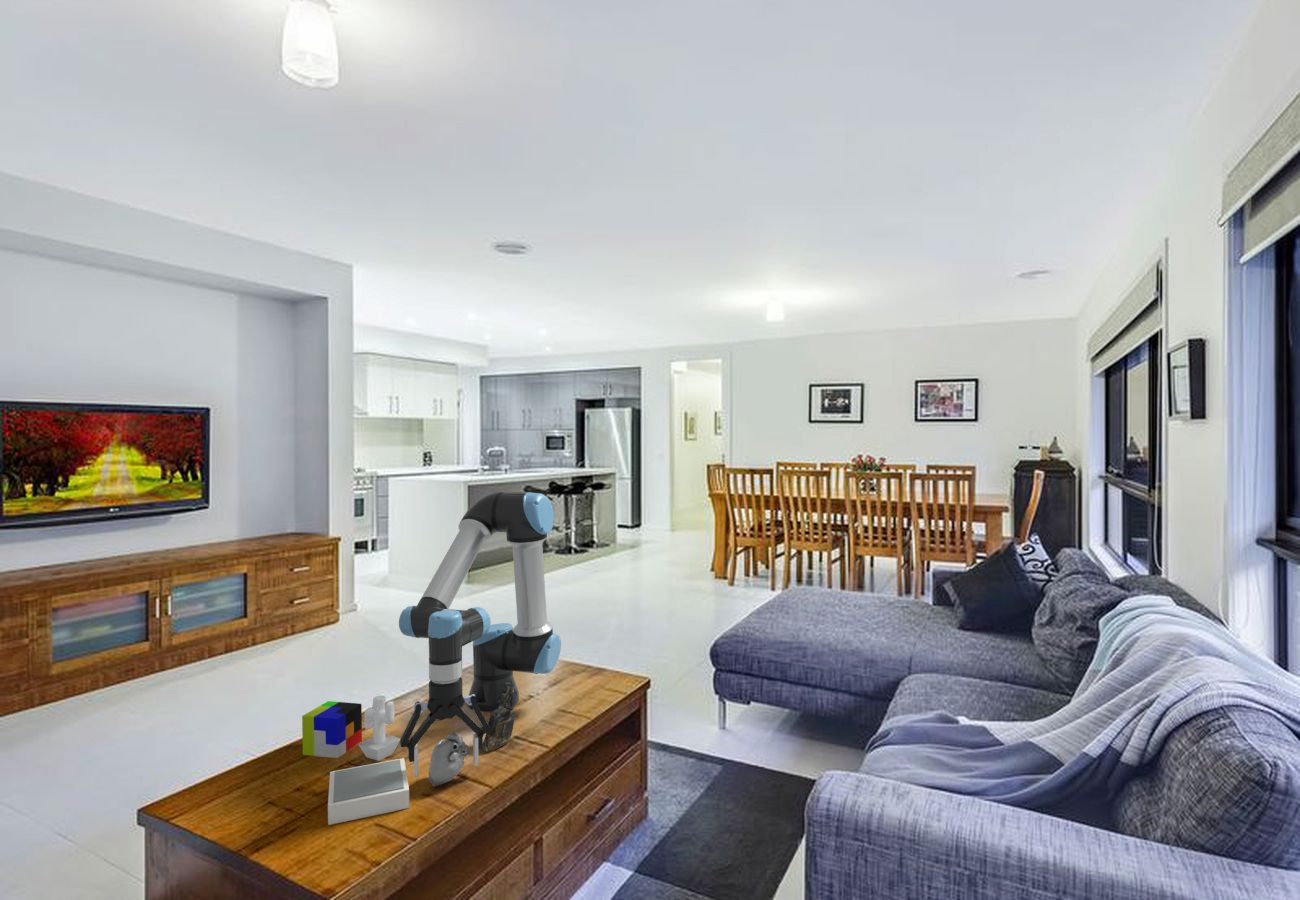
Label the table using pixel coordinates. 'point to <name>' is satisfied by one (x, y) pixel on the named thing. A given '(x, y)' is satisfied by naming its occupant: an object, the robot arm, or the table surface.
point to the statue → (501, 719)
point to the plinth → (367, 791)
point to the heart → (447, 759)
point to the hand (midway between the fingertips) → (446, 768)
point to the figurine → (379, 730)
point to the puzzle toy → (332, 729)
